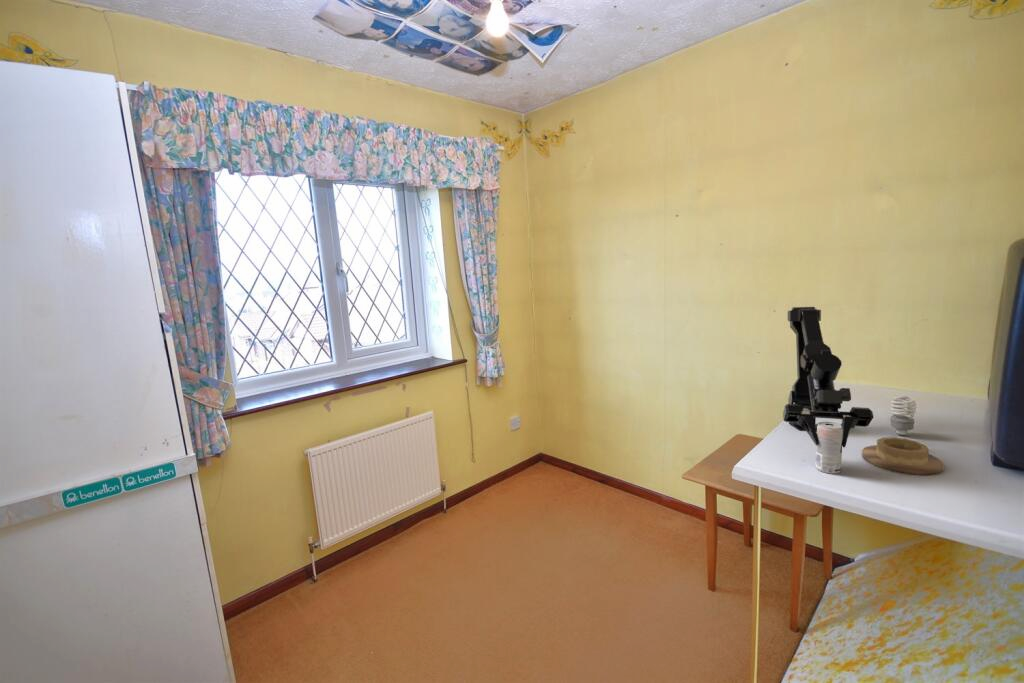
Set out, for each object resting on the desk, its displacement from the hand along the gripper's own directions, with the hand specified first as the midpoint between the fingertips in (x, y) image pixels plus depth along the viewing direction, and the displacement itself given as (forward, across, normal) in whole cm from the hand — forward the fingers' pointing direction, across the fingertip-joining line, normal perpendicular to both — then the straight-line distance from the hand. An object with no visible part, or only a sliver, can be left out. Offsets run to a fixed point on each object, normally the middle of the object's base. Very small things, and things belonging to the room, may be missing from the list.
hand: (830, 445), depth 111 cm
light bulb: (-17, +24, +27) cm, 40 cm away
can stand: (-3, +18, +13) cm, 22 cm away
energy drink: (+4, 0, +6) cm, 7 cm away
